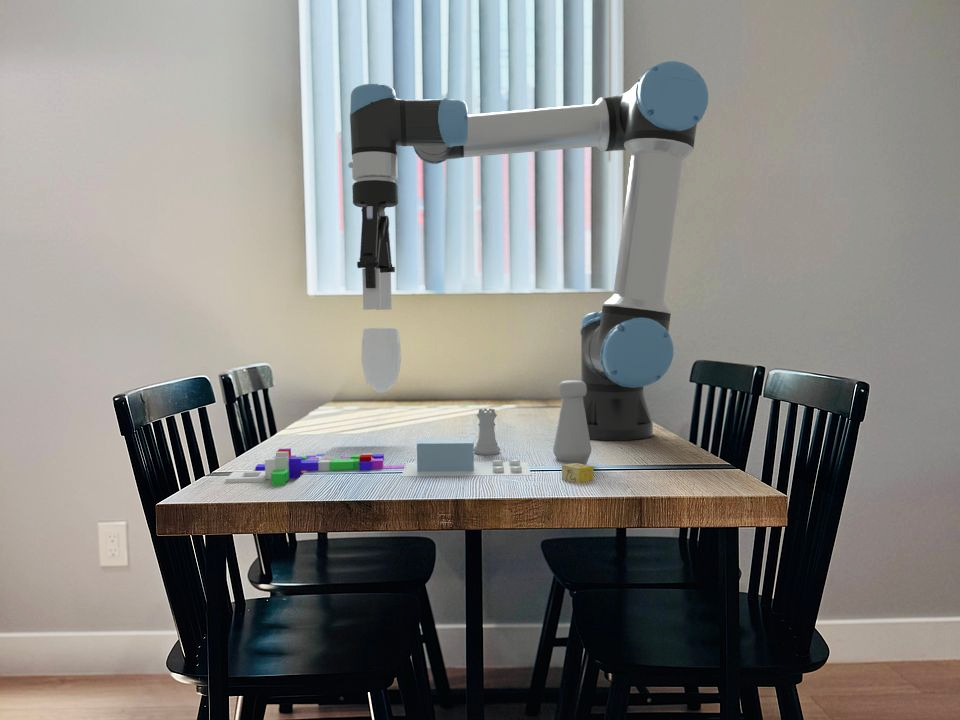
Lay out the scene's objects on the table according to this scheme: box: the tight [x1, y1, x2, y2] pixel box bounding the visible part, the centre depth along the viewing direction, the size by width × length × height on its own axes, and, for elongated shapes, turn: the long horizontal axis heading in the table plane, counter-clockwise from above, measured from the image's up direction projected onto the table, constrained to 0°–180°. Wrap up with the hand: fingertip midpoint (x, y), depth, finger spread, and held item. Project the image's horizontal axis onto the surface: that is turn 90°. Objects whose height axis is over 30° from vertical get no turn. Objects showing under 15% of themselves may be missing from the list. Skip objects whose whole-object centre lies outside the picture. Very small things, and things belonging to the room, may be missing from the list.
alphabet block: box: [561, 462, 594, 484], centre depth 108 cm, size 3×3×3 cm
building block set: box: [225, 448, 405, 487], centre depth 121 cm, size 25×20×4 cm
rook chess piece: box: [474, 408, 501, 456], centre depth 128 cm, size 4×4×8 cm
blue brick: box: [416, 438, 475, 472], centre depth 115 cm, size 8×4×4 cm, turn 90°
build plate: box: [400, 459, 532, 477], centre depth 116 cm, size 18×10×2 cm, turn 90°
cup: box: [361, 327, 402, 394], centre depth 146 cm, size 7×7×21 cm
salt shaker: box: [552, 379, 592, 465], centre depth 122 cm, size 6×6×13 cm
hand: (378, 309), depth 135 cm, fingers open, 13 cm apart
